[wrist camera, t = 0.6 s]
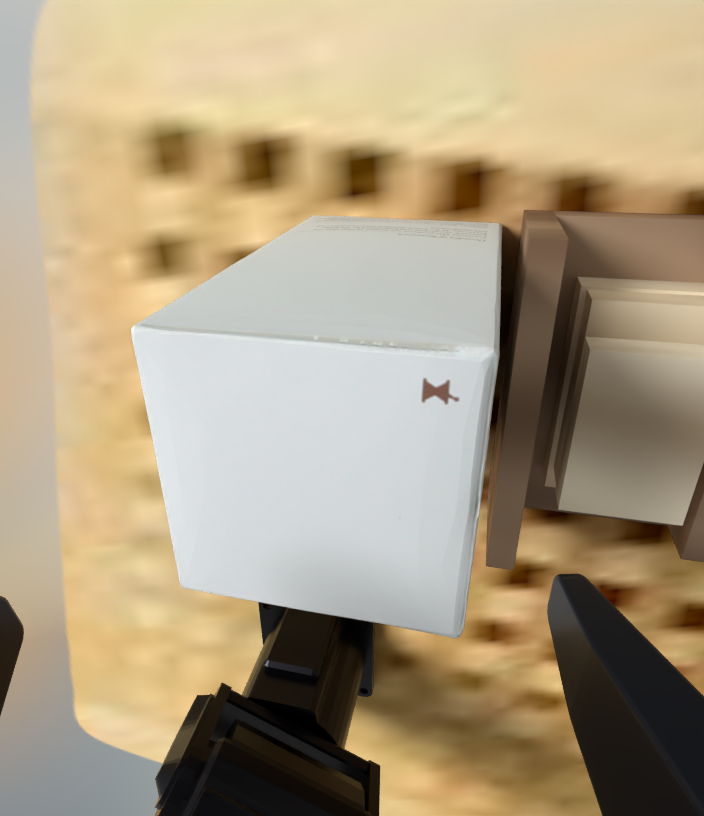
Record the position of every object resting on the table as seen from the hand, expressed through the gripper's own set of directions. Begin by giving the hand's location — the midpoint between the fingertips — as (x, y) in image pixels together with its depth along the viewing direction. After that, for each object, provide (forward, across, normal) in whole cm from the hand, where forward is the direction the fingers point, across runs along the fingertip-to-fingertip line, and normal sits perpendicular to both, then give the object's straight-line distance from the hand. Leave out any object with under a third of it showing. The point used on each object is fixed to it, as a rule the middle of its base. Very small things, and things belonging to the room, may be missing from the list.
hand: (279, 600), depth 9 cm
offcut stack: (+12, -11, +4) cm, 17 cm away
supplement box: (+15, -3, +2) cm, 16 cm away
